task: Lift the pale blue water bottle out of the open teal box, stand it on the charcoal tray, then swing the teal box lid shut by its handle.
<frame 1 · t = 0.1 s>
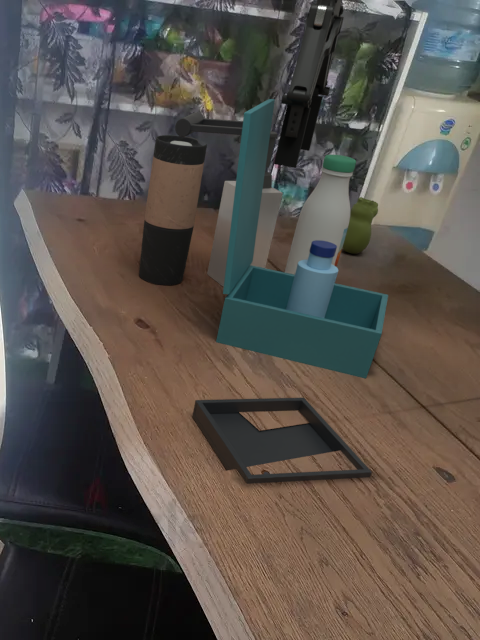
hand: (292, 157, 96), 22 cm above the table, tool pointing down, fingers open, 13 cm apart
water bottle: (298, 338, 101), point 1 cm above the table, touching teal box
travel mug: (160, 278, 118), on the table
tray: (273, 451, 77), on the table
teal box: (296, 344, 101), on the table
soap dispenser: (229, 279, 121), on the table
lid: (214, 193, 95), point 17 cm above the table, hinge at 95.0°
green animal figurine: (350, 253, 140), on the table
milk bottle: (304, 291, 120), on the table
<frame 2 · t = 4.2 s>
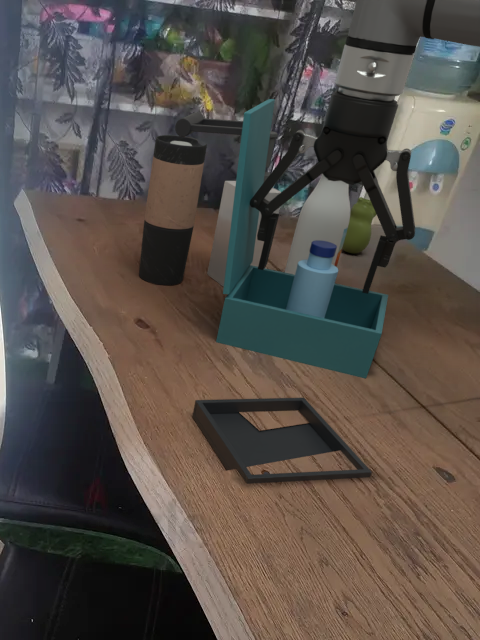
hand: (313, 278, 96), 9 cm above the table, tool pointing down, fingers open, 13 cm apart
lid: (214, 193, 95), point 17 cm above the table, hinge at 95.0°, touching gripper
everything else where it was.
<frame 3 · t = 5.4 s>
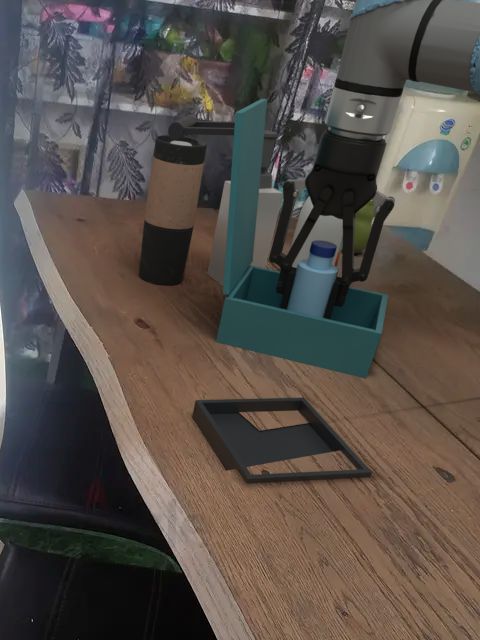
hand: (302, 322, 99), 3 cm above the table, tool pointing down, fingers closed on water bottle, 5 cm apart
water bottle: (298, 338, 101), point 1 cm above the table, touching teal box, gripper
lid: (210, 194, 95), point 17 cm above the table, hinge at 97.7°
everything else where it was.
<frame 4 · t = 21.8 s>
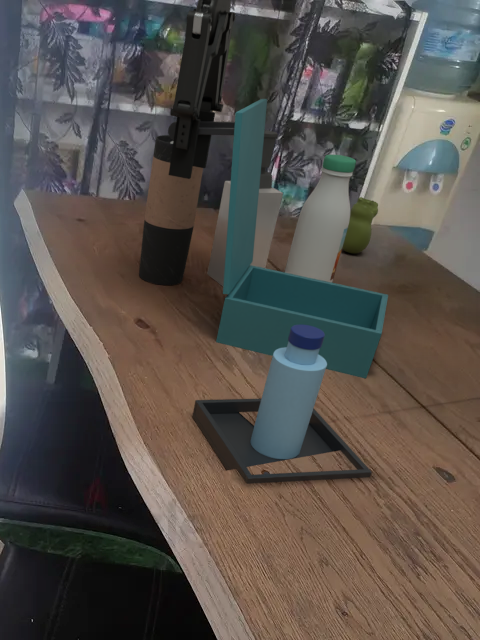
hand: (187, 170, 94), 19 cm above the table, tool pointing down, fingers closed on lid, 7 cm apart
water bottle: (275, 446, 77), point 1 cm above the table, touching tray
lid: (210, 194, 95), point 17 cm above the table, hinge at 97.7°, touching gripper
everything else where it was.
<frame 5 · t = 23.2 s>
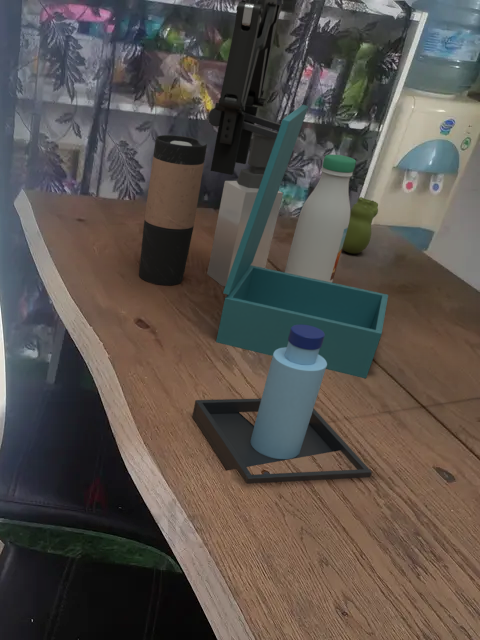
hand: (228, 166, 92), 20 cm above the table, tool pointing down, fingers closed on lid, 7 cm apart
lid: (232, 188, 94), point 18 cm above the table, hinge at 82.7°, touching gripper
everything else where it was.
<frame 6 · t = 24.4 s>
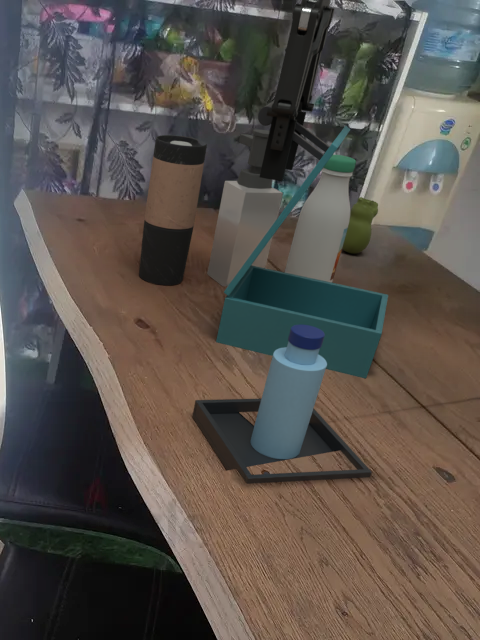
hand: (276, 172, 91), 21 cm above the table, tool pointing down, fingers closed on lid, 7 cm apart
lid: (258, 189, 93), point 18 cm above the table, hinge at 65.7°, touching gripper
everything else where it was.
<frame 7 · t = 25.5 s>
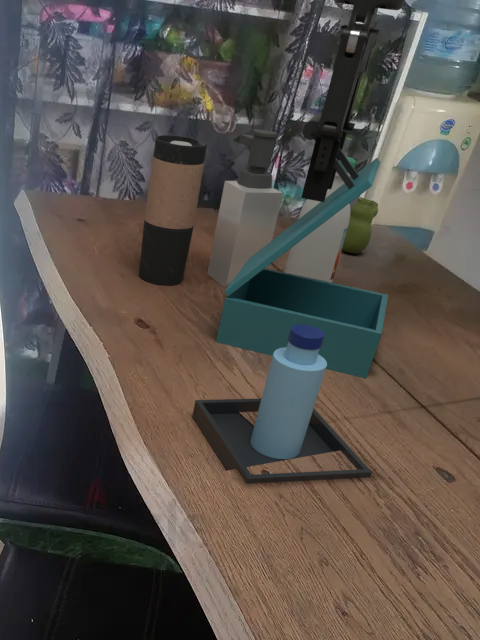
hand: (316, 192, 90), 19 cm above the table, tool pointing down, fingers closed on lid, 7 cm apart
lid: (281, 198, 92), point 18 cm above the table, hinge at 49.9°, touching gripper
everything else where it was.
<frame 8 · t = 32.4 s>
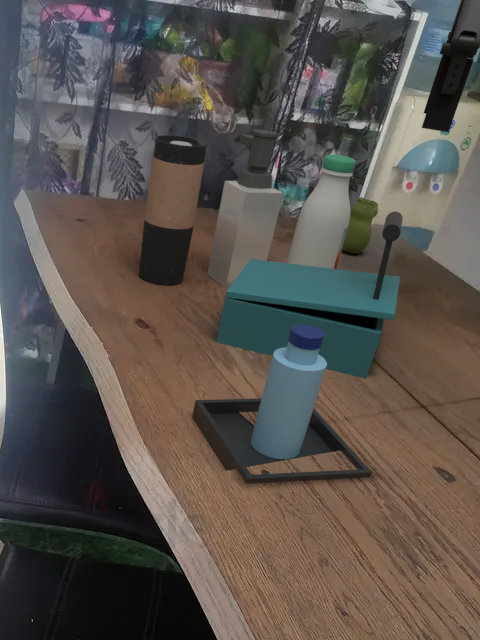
hand: (435, 122, 82), 29 cm above the table, tool pointing down, fingers open, 13 cm apart
lid: (322, 251, 94), point 13 cm above the table, hinge at 5.1°
everything else where it was.
at the end: water bottle inside the target area in the tray (0.0 cm from its centre), point 0.6 cm above the tray's base; water bottle tilted 0°; lid at +5° (first picture: +95°) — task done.
